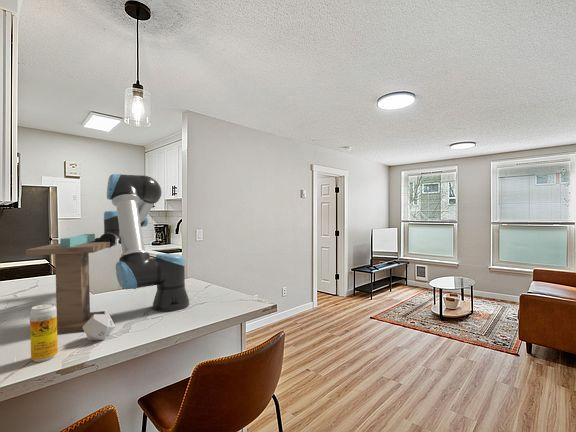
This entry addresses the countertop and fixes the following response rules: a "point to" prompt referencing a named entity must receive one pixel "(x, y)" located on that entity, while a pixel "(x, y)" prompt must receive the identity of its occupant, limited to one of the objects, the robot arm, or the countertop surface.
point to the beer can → (43, 332)
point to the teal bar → (76, 240)
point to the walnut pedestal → (71, 283)
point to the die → (98, 327)
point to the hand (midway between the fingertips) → (99, 242)
